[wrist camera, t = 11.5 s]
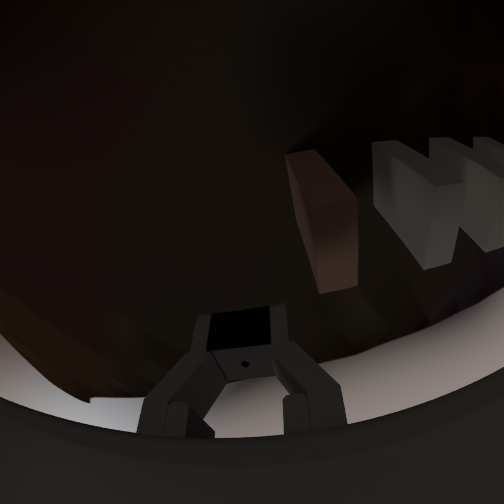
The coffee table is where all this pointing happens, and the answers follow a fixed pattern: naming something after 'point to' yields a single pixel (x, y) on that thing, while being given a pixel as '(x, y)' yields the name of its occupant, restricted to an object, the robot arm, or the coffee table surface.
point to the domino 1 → (325, 220)
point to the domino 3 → (475, 190)
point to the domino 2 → (417, 201)
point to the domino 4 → (489, 148)
